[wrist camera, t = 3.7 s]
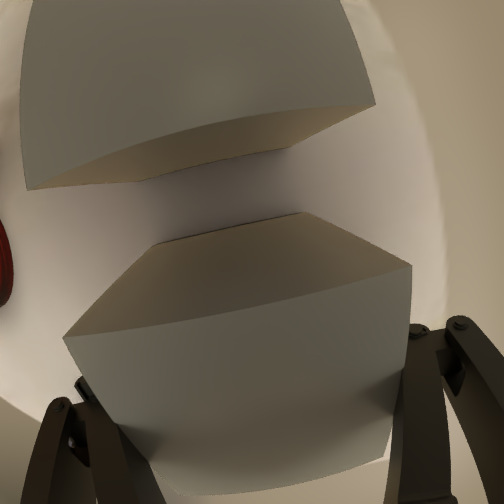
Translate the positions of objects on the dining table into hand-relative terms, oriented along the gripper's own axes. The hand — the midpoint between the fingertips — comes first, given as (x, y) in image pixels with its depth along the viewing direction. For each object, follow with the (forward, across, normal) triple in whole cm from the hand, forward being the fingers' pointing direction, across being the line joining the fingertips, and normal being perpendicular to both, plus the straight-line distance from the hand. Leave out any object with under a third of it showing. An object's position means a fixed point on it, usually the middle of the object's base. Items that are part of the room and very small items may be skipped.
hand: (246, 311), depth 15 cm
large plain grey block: (+1, 0, 0) cm, 1 cm away
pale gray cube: (+2, 0, +13) cm, 13 cm away
